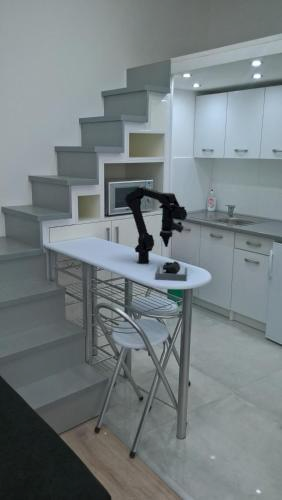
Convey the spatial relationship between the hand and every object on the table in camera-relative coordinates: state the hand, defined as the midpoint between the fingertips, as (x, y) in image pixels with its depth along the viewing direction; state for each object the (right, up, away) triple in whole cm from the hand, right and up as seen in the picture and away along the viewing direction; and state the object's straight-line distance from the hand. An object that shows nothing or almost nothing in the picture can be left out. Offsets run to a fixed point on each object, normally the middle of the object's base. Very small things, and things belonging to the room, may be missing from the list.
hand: (166, 246), depth 226 cm
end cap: (+2, -15, -13) cm, 20 cm away
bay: (+2, -15, -13) cm, 20 cm away
